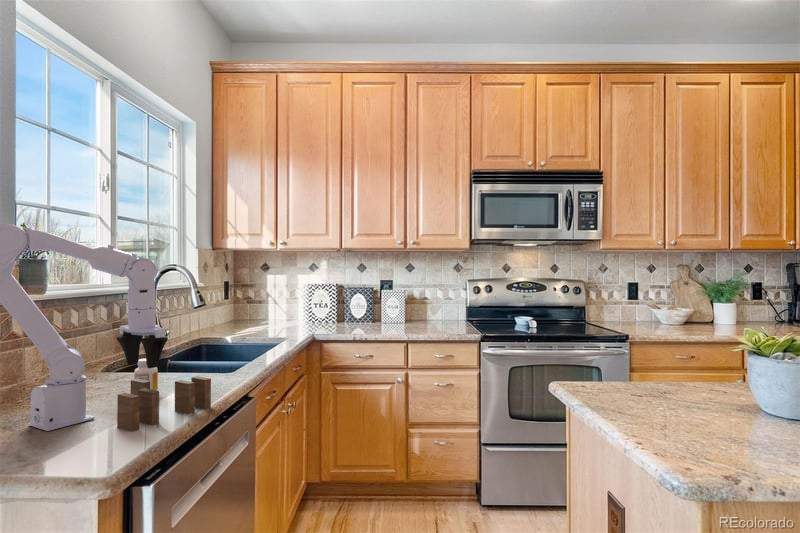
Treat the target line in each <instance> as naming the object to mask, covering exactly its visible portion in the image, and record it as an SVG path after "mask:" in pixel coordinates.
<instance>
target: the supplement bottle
mask: <svg viewBox="0 0 800 533" xmlns="http://www.w3.org/2000/svg"><path fill="white" fill-rule="evenodd" d="M136 365H137V366H138V367H137V368H135V369H134V375H133V376H134V379H141V380H146V381H150V389H151V390H156V391H159V388H158V386H159V384H158V383H159V381H158V380H159V376H158V375H159V373H158V372H159V371H158V367H154V368H148V367H147V363H146V357H145V358H139V360H138V364H136ZM134 379H133V380H134Z"/></svg>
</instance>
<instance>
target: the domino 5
mask: <svg viewBox="0 0 800 533" xmlns="http://www.w3.org/2000/svg"><path fill="white" fill-rule="evenodd" d="M190 380H191V381H190V382H195V408H197V409H202V410H208V409H211V408H212V406H211V405H212V401H211V400H212V379H211V377H210V378H209V377H203V376H197V375H196V376H192V377H191V379H190Z"/></svg>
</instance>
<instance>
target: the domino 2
mask: <svg viewBox="0 0 800 533" xmlns="http://www.w3.org/2000/svg"><path fill="white" fill-rule="evenodd" d="M144 388H146V389H150V381H146V380H141V379H131V380H130V394H133V395H137V396H138V390H140V389H144Z"/></svg>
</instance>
